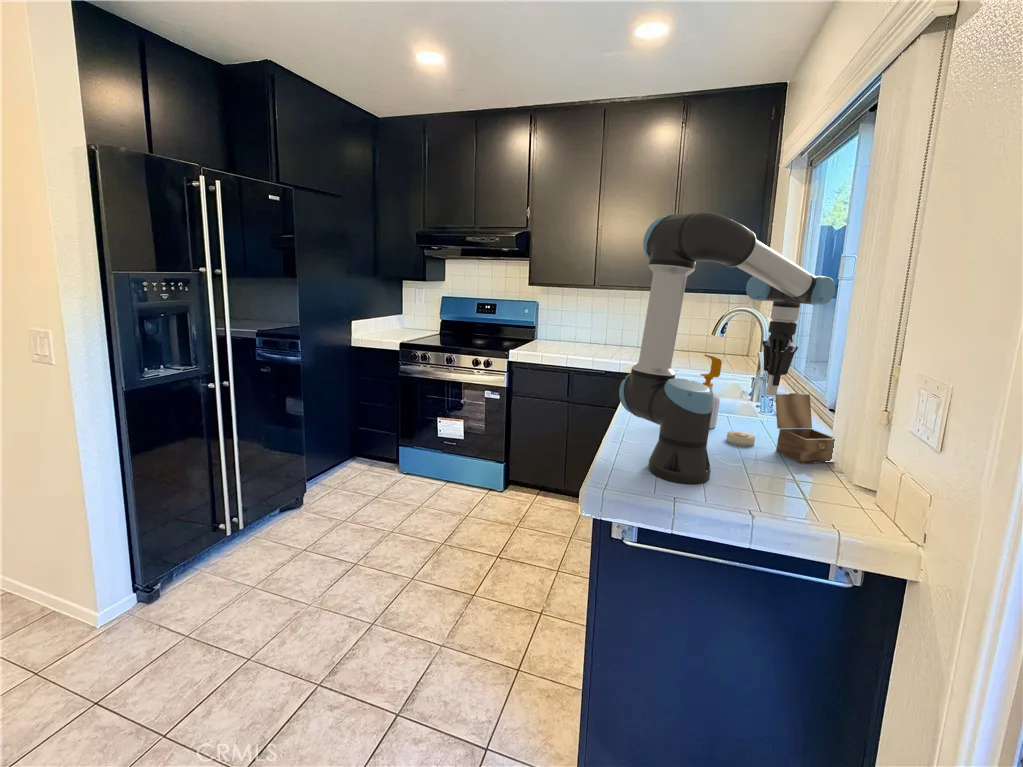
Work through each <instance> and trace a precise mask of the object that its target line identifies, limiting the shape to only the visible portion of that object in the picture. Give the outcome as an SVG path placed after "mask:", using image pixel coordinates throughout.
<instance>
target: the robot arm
mask: <svg viewBox="0 0 1023 767" xmlns="http://www.w3.org/2000/svg"><path fill="white" fill-rule="evenodd" d="M643 237H644V238H643V243H642V244H643V245H642V246H643V251H644V252H645V257H647V258H648V259H649V261H648V268H649V269H650V270H651V272H652V279H651V286H650V291H649V298H648V303H647V308H646V316H645V321H644V328H643V331H642V332H643V333H642V340H641V345H640V349H639V350H640V352H639V356H638V357H639V358H638V361H637V363H636V364H635V365H633V366H632V367H631V371H630V373H629V374H627V375H626V376H625V377H624V379H622V380H621V383H620V386H619V389H618V390H619V392H618V393H619V394H618V395H619V402H620V404H621V405H622V407H623V408H624V409H625V410H626V411H627V412H628V413H630V414H632V415H633V416H635V417H637V418H641V419H643V420H646V421H649V422H651V423H653V424H656V425H659V426H660V427H659V433H658V439H657V440H658V441H657V442H656V444H655V446H654V448H653V451H652V452H651V455H650V457H649V458H648V463H647V464H648V465H647V469H648V470H650V471H649V472H650V473H651V474H653V475H655V476H656V477H659V478H661V479H663V480H666V481H668V482H673V483H680V484H688V485H691V484H692V485H695V484H696V485H697V484H702V483H706V482H708V481H709V480H710V477H711V472H712V471H711V470H712V469H711V463H710V459H709V454H708V448H707V446H708V440H709V434H710V429H711V428H710V422H711V416H712V410H713V392H714V391H713V392H712V391H711V389H710V388H708V387H707V386H705V385H703V383H700V382H698V381H695V380H689V379H686V378H679V377H676V372H675V371H674V370H673V368H672V362H673V357H674V352H675V346H676V342H677V341H676V340H677V335H678V329H679V324H680V319H681V313H682V307H683V302H684V295H685V291H686V290H685V289H686V284H687V278H688V276H690V275H691V274H693V272H694V271H695V270H696V263H697V262H711V263H719V264H721V265H723V266H725V267H728V268H738V269H740V270H742V271H743V272H745V273H747V274H749V275H750V276H752V277H750V278H749V279H748V280H747V283H746V288H745V292H746V295H747V296H748V297H749V298H750V300H753V301H758V302H763V301H765V302H772V307H771V310H770V311H771V312H770V319H771V320H770V321H769V324H768V329H767V330H768V333H770V335H769V337H768V339H767V340H762V346H763V371H765V372H767V378H766V384H767V385H766V390H765V395H767V396H775V394H778V387H779V386H780V383H781V382H780V381H781V378H782V376H787V374H788V371H789V369H790V366H791V364H792V361H793V358H794V355H795V353H796V352H797V351H798V350H799V347H798V345H794V343H793V340H794V339H793V336H794V335H796V332H797V328H798V323H797V321H798V320H799V314H800V308H801V304H803V305H812V306H815V305H819V306H820V305H821V306H823V305H826V304H828V303H829V302H830V301H831V300H832V299H833V297H834V295H835V292H836V283H835V281H834V279H833V278H832V277H830V276H824V275H817V276H816V275H814V274H812V273H810V272H809V271H807V270H806V269H804V268H802V267H801V266H799V264H798V265H797V264H796V263H794V262H793V261H792V260H790V259H788V258H786V257H785V256H783V255H782V254H780V253H779V252H777V251H776V250H774V249H773V248H771V247H769V246H767V245H766V244H764V243H763V242H761V241H760V240H758V239H757V236H756V233H754V231H753V230H751V229H749V228H748V227H746V226H745V225H743V224H741V223H739V222H737V221H735V220H734V219H731V218H729V217H727V216H725V215H722V214H719V213H715V212H710V211H700V212H699V211H698V212H689V213H680V214H679V213H678V214H669V215H666V216H663V217H659V218H657V219H656V220H654V221H653V222H652V223H651V224H650V225H649V226H648V228H647V229H646V231H645V233H644V235H643ZM709 428H710V429H709Z"/></svg>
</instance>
